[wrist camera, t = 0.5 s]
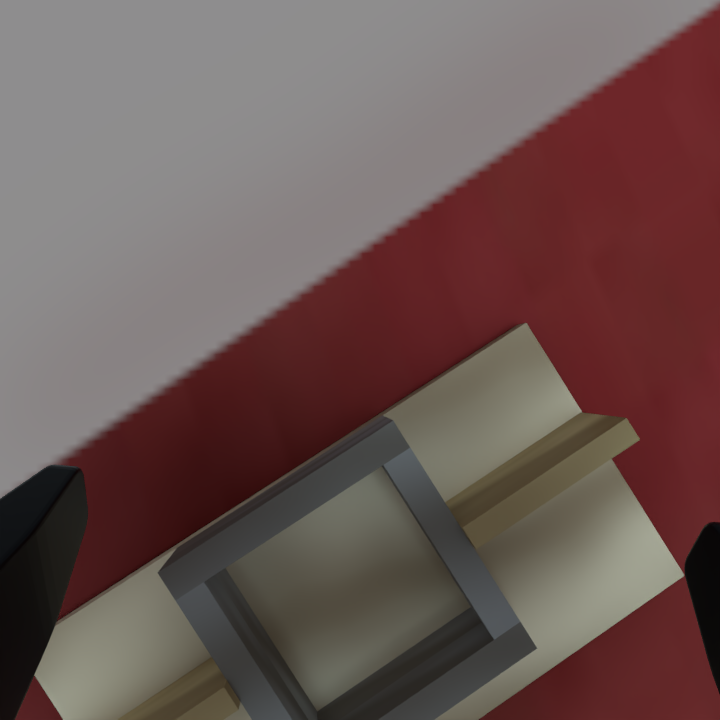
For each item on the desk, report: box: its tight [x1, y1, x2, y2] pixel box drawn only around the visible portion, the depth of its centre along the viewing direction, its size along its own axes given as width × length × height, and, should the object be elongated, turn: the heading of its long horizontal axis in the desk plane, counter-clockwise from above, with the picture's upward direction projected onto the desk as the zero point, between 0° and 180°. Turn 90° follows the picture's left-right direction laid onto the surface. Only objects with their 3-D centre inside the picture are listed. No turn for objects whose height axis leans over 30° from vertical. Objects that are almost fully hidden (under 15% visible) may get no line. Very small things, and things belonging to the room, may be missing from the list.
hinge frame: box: [35, 323, 684, 720], centre depth 22 cm, size 11×21×4 cm, turn 122°
